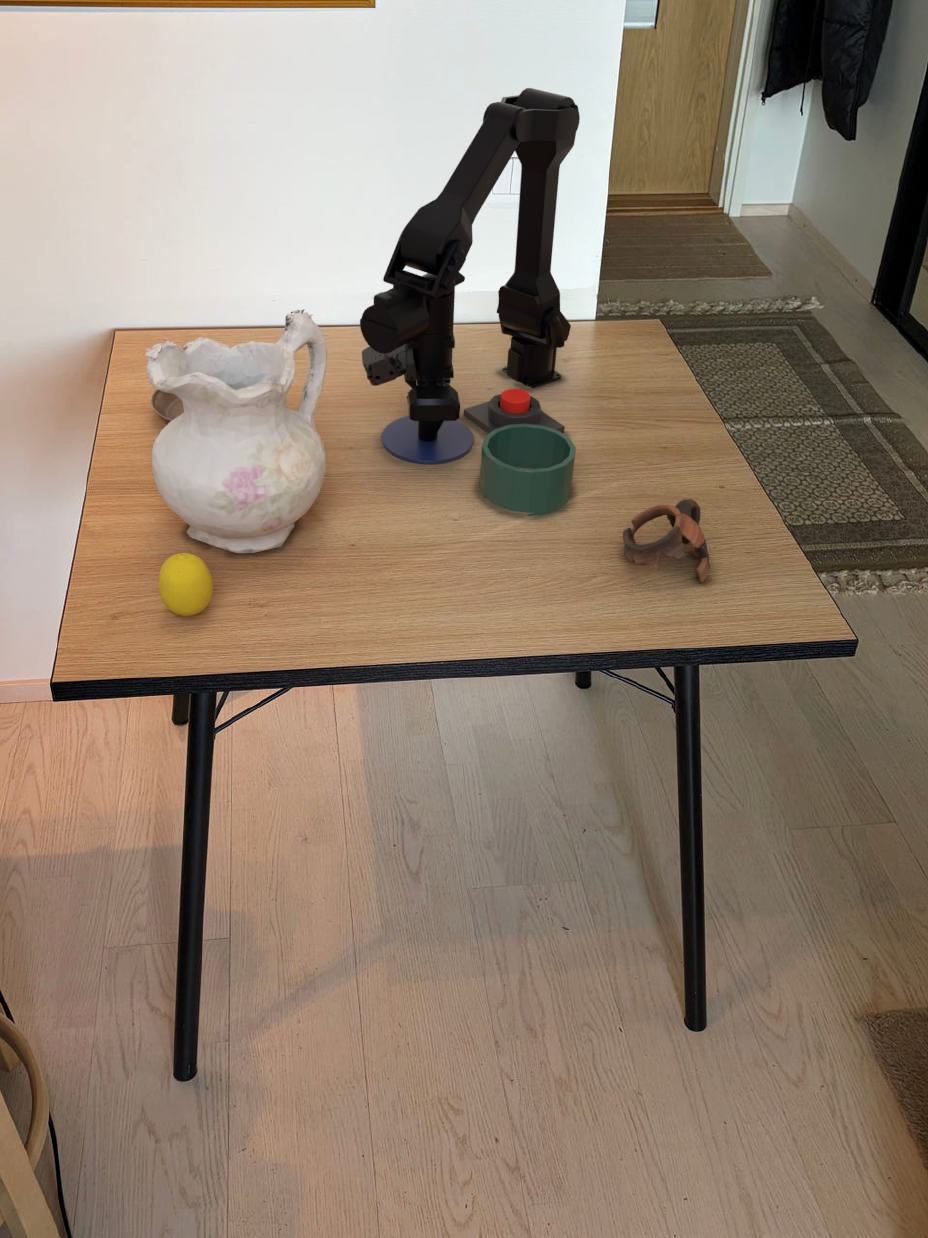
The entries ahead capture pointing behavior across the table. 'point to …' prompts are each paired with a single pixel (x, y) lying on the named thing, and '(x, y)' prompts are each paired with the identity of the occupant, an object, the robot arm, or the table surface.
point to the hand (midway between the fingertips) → (427, 434)
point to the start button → (515, 401)
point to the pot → (522, 485)
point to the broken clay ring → (669, 536)
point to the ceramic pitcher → (240, 436)
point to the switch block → (508, 416)
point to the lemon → (185, 584)
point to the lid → (410, 445)
